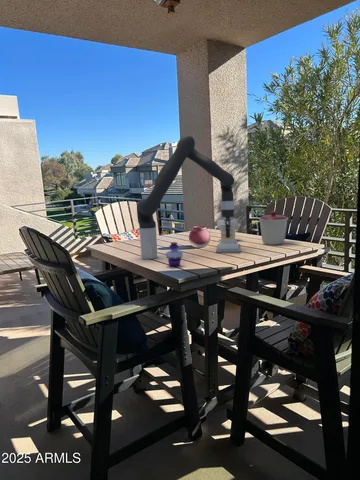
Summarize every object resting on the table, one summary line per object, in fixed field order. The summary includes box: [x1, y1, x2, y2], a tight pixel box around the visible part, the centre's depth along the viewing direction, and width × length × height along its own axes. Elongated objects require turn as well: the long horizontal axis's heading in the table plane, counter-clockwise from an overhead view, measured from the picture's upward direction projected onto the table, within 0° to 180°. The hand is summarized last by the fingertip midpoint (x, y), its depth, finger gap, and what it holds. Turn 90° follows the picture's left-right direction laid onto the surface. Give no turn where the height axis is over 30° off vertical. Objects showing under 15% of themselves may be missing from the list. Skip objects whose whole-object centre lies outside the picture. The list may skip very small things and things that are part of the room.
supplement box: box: [220, 223, 236, 244], centre depth 210 cm, size 8×5×13 cm, turn 74°
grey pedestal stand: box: [215, 240, 241, 254], centre depth 211 cm, size 22×14×4 cm, turn 171°
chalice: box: [217, 217, 239, 242], centre depth 239 cm, size 14×14×15 cm
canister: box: [258, 210, 289, 246], centre depth 222 cm, size 18×18×21 cm
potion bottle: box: [165, 241, 183, 268], centre depth 176 cm, size 9×9×12 cm
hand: (228, 236), depth 210 cm, fingers closed on supplement box, 5 cm apart
